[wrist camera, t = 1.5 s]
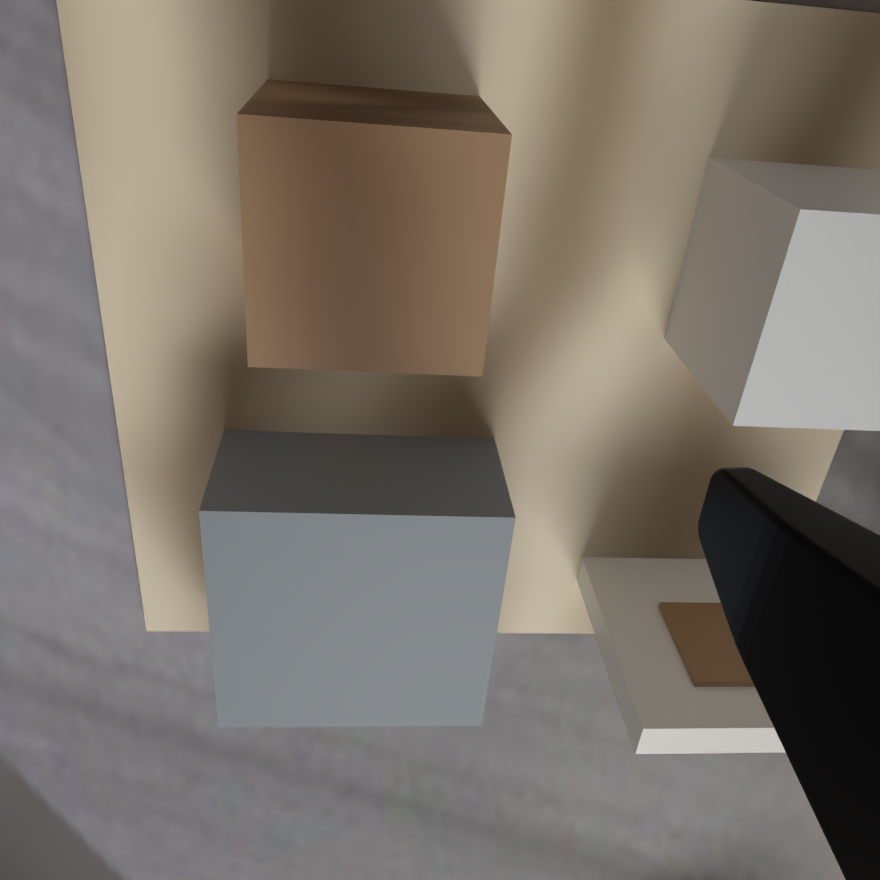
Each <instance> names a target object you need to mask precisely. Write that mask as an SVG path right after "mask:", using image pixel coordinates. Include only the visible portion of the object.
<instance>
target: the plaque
mask: <svg viewBox="0 0 880 880" xmlns="http://www.w3.org/2000/svg"><path fill="white" fill-rule="evenodd" d="M577 583H578V586H579V589H580V592H581V595H582V598H583V601H584V604H585V607H586V610H587V612H588V615H589V618H590V621H591V624H592V627H593V630H594V633H595V636H596V639H597V642H598V645H599V648H600V651H601V654H602V657H603V660H604V663H605V666H606V669H607V672H608V675H609V678H610V681H611V684H612V687H613V689H614V692H615V695H616V698H617V701H618V704H619V707H620V710H621V713H622V716H623V719H624V722H625V725H626V728H627V731H628V734H629V737H630V740H631V743H632V746H633V749H634V752H635V754H685V753H771V752H785V750H784V748H783V746H782V743H781V741H780V739H779V737H778V735H777V733H776V731H775V729H774V726H773V724H772V722H771V720H770V718H769V716H768V714H767V712H766V709H765V707H764V705H763V703H762V701H761V699H760V697H759V695H758V692H757V690H756V688H755V686H754V684H753V682H752V680H751V678H750V676H749V673H748V671H747V669H746V667H745V665H744V663H743V661H742V658H741V656H740V654H739V652H738V649H737V647H736V645H735V642H734V639H733V637H732V634H731V632H730V629H729V626H728V623H727V620H726V617H725V614H724V611H723V608H722V606H721V603H720V600H719V597H718V594H717V591H716V588H715V585H714V582H713V579H712V576H711V573H710V570H709V567H708V564H707V561H706V559H674V558H612V557H581V562H580V566H579V571H578V575H577Z"/></svg>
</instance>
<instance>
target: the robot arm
mask: <svg viewBox="0 0 880 880" xmlns="http://www.w3.org/2000/svg"><path fill="white" fill-rule="evenodd" d="M698 536H699V541H700V544H701V547H702V550H703V553H704V556H705V558H706V561H707V564H708V567H709V570H710V573H711V576H712V579H713V582H714V585H715V588H716V591H717V594H718V597H719V600H720V603H721V606H722V608H723V611H724V614H725V617H726V620H727V623H728V626H729V629H730V632H731V634H732V637H733V639H734V642H735V645H736V647H737V649H738V652H739V654H740V656H741V658H742V661H743V663H744V665H745V667H746V669H747V671H748V673H749V676H750V678H751V680H752V682H753V684H754V686H755V688H756V690H757V692H758V695H759V697H760V699H761V701H762V703H763V705H764V707H765V709H766V712H767V714H768V716H769V718H770V720H771V722H772V724H773V726H774V729H775V731H776V733H777V735H778V737H779V739H780V741H781V743H782V746H783V748H784V750H785V752H786V754H787V756H788V758H789V760H790V762H791V765H792V767H793V769H794V771H795V773H796V775H797V777H798V779H799V782H800V784H801V786H802V788H803V790H804V792H805V794H806V796H807V799H808V801H809V803H810V805H811V807H812V809H813V811H814V813H815V815H816V818H817V820H818V822H819V824H820V826H821V828H822V830H823V832H824V835H825V837H826V839H827V841H828V843H829V845H830V847H831V849H832V852H833V854H834V856H835V858H836V860H837V862H838V864H839V866H840V869H841V871H842V873H843V875H844V877H845V879H846V880H880V535H878V534H876V533H874V532H872V531H871V530H869V529H867V528H865V527H863V526H861V525H859V524H857V523H855V522H853V521H852V520H850V519H848V518H846V517H844V516H842V515H840V514H838V513H836V512H834V511H833V510H831V509H829V508H827V507H825V506H823V505H821V504H819V503H817V502H815V501H813V500H812V499H810V498H808V497H806V496H804V495H802V494H800V493H798V492H796V491H794V490H793V489H791V488H789V487H787V486H785V485H783V484H781V483H779V482H777V481H775V480H773V479H772V478H770V477H768V476H766V475H764V474H762V473H760V472H758V471H756V470H754V469H752V468H749V467H727V468H719V469H717V470H716V471H714V473H713V474H712V476H711V478H710V481H709V485H708V488H707V492H706V495H705V499H704V502H703V506H702V509H701V513H700V516H699V520H698Z"/></svg>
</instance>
